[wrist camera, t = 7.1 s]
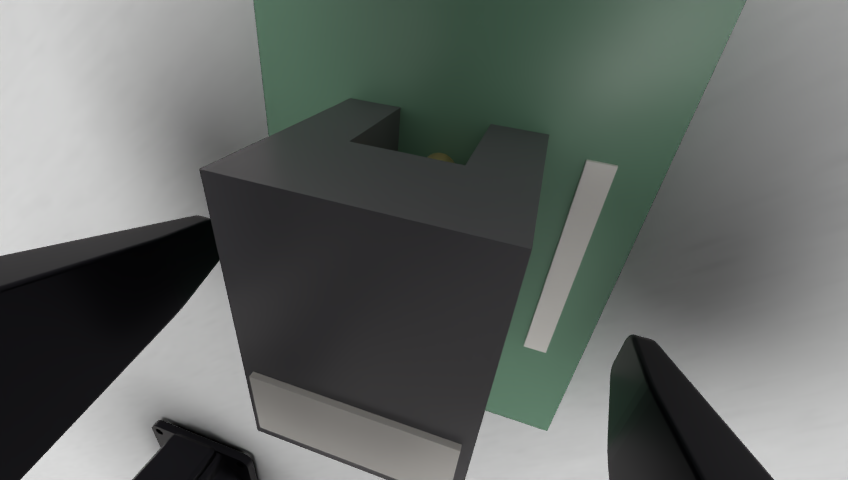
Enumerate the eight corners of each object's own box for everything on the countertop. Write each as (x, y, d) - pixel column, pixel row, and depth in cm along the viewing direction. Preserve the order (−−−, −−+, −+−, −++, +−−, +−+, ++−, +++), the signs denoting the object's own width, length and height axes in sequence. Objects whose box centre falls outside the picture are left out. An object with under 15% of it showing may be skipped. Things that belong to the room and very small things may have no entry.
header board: (548, 399, 14) (543, 495, 11) (310, 323, 15) (256, 391, 13) (732, -25, 7) (828, -35, 4) (280, -71, 9) (158, -98, 6)
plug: (493, 341, 11) (455, 512, 8) (351, 300, 12) (254, 435, 8) (549, 134, 8) (530, 255, 4) (350, 98, 9) (192, 172, 5)
